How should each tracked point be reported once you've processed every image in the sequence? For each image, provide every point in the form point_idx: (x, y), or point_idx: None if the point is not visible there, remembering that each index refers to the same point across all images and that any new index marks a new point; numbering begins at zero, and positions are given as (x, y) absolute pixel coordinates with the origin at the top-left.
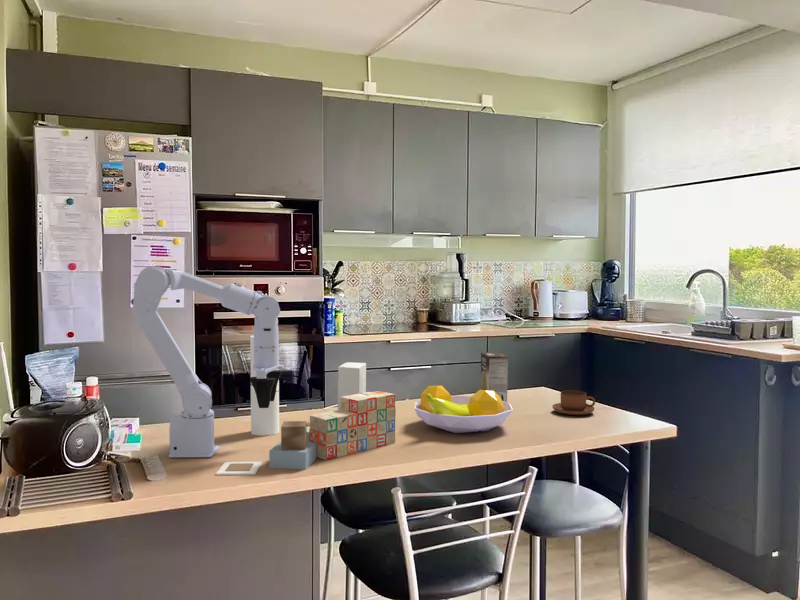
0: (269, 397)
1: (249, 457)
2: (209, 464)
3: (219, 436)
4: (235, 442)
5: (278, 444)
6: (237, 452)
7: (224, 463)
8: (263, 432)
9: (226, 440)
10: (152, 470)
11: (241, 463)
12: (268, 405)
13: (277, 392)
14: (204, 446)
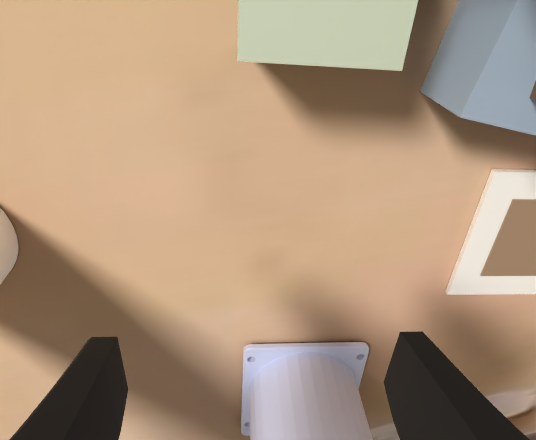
0: (500, 412)
1: (388, 229)
2: (439, 328)
3: None
4: (154, 312)
5: (532, 127)
6: (306, 280)
7: (465, 292)
8: (6, 239)
9: (126, 344)
10: None
11: (495, 242)
12: (434, 346)
13: None
14: (354, 388)
